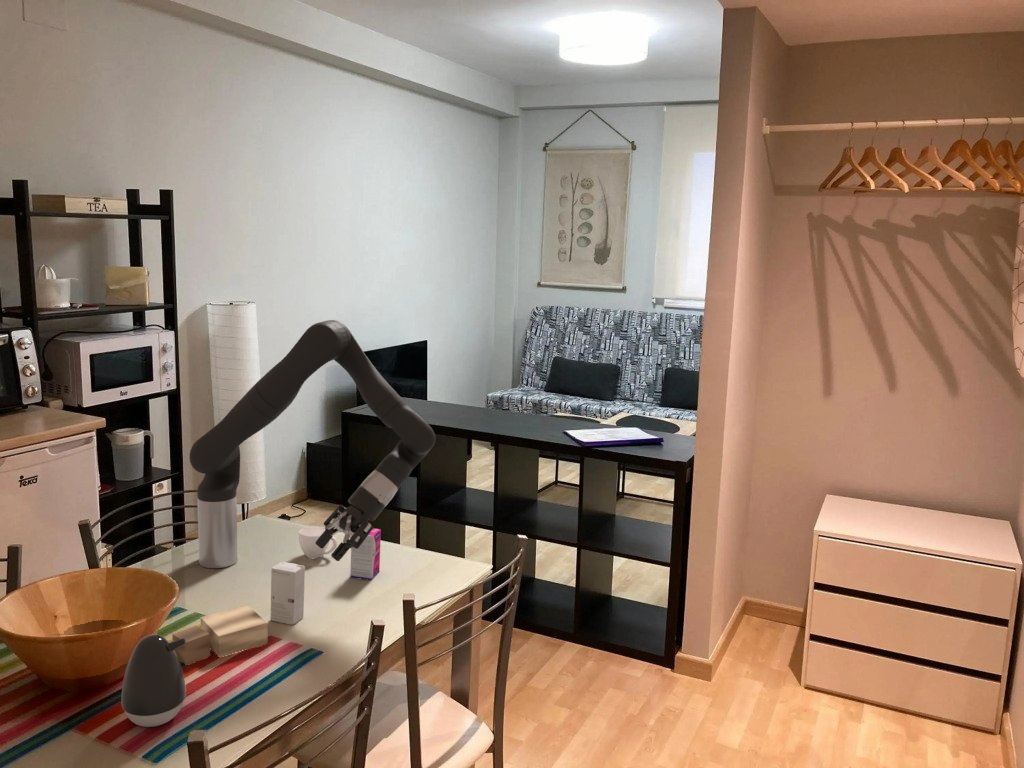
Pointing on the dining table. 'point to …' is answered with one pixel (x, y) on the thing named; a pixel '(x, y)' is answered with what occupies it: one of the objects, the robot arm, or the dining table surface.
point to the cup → (310, 537)
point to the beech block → (235, 630)
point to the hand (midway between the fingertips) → (326, 552)
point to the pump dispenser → (153, 682)
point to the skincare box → (287, 592)
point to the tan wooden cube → (192, 644)
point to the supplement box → (366, 557)
